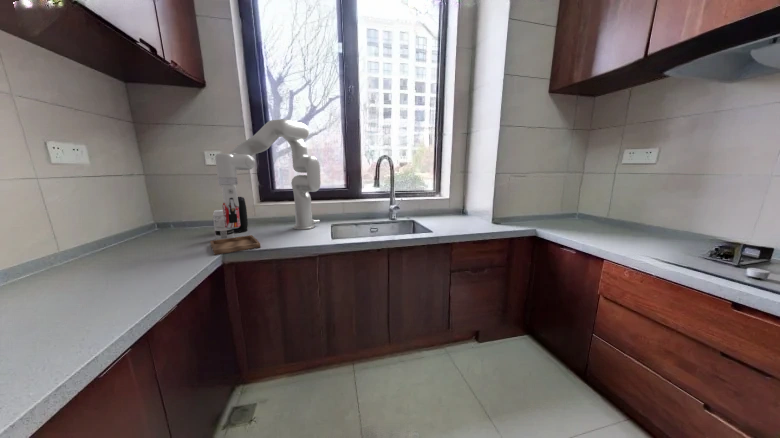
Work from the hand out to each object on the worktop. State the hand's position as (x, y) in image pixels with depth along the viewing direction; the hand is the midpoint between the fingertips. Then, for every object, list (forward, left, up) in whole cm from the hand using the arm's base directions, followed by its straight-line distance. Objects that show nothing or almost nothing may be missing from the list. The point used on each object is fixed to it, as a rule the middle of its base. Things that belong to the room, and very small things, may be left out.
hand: (232, 221), depth 124 cm
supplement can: (+2, -17, -12) cm, 21 cm away
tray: (0, 0, -12) cm, 12 cm away
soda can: (0, 0, -3) cm, 3 cm away
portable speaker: (-7, -32, -12) cm, 35 cm away
